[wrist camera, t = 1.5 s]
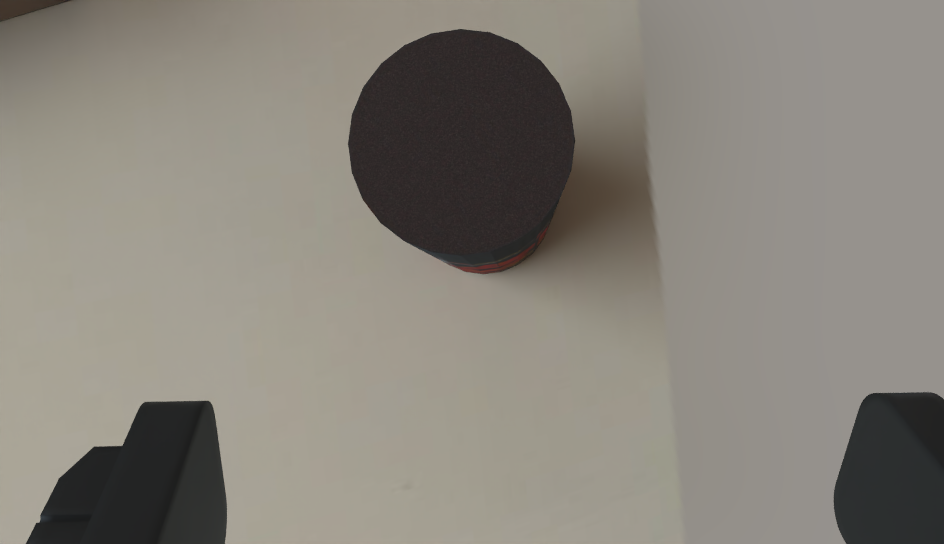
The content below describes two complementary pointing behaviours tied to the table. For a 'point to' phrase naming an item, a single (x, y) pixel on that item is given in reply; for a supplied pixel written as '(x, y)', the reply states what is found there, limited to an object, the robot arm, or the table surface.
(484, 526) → the table surface
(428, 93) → the deodorant
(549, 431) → the table surface
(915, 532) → the robot arm
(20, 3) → the shelf
